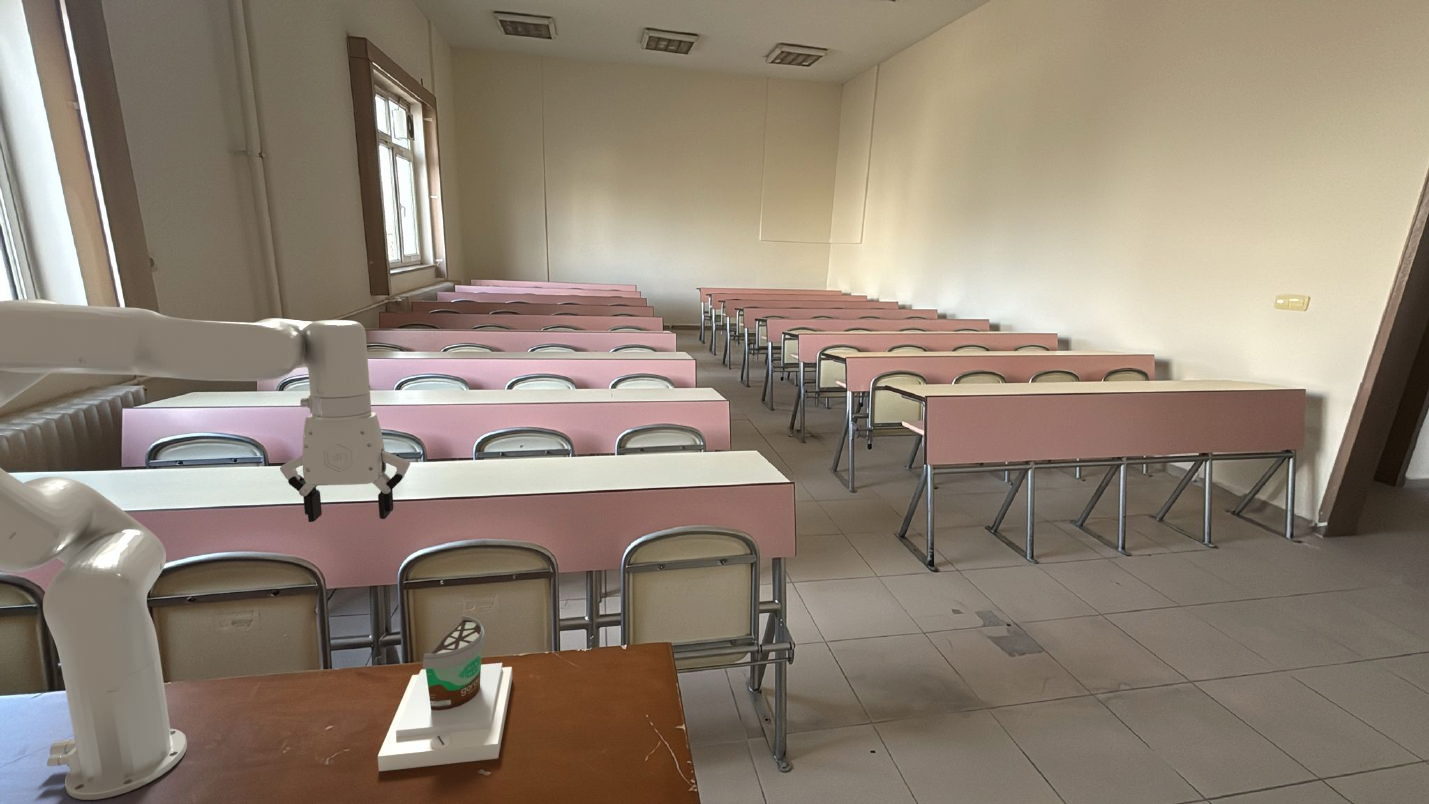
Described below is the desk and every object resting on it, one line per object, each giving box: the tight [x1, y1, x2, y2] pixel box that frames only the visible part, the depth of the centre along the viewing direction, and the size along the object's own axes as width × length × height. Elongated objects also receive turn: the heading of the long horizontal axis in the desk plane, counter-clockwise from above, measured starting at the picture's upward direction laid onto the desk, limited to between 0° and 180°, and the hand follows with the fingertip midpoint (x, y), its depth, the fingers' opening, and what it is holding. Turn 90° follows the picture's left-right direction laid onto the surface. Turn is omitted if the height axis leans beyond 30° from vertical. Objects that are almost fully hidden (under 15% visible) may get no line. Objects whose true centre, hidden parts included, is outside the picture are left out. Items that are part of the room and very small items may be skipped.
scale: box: [377, 662, 513, 772], centre depth 101 cm, size 16×19×4 cm
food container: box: [422, 614, 487, 710], centre depth 102 cm, size 12×6×10 cm, turn 173°
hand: (350, 517), depth 98 cm, fingers open, 9 cm apart
